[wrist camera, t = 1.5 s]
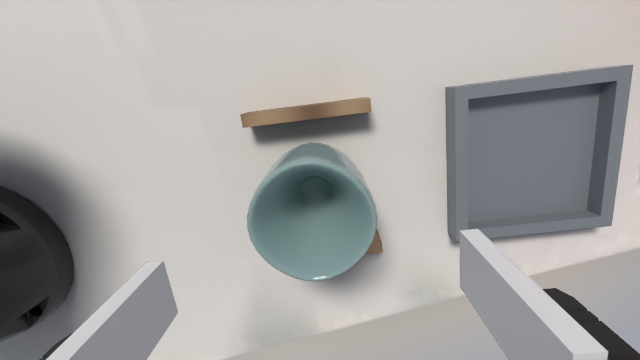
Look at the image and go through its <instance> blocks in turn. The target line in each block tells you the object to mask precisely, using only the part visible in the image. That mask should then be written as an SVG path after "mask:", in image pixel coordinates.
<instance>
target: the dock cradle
mask: <svg viewBox="0 0 640 360" xmlns="http://www.w3.org/2000/svg"><path fill="white" fill-rule="evenodd" d="M632 70H633V65H625V66H611V67H603V68H595V69H587V70H579V71H571V72H563V73H555V74H547V75H539V76H532V77H524V78H516V79H508V80H500V81H492V82H484V83H476V84H468V85H460V86H452V87H446V144H447V206H448V233H449V234H450V235H451V236H452V237H453V238H454V240H455V241H456V242H459V241H460V231H461V230H471V229H479V230H480V231H481V232H482V233H483V234H484V235H485V236H486V237H487V238H498V237H508V236H517V235H527V234H537V233H547V232H556V231H566V230H576V229H586V228H595V227H605V226H611V225H612V218H613V211H614V203H615V196H616V188H617V181H618V174H619V166H620V159H621V152H622V144H623V137H624V129H625V122H626V115H627V107H628V100H629V92H630V85H631V78H632Z"/></svg>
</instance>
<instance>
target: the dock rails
mask: <svg viewBox="0 0 640 360" xmlns="http://www.w3.org/2000/svg"><path fill="white" fill-rule="evenodd" d="M366 112H371V101H370V98H367V97H365V98H358V99H350V100H342V101H334V102H326V103H318V104H310V105H302V106H294V107H286V108H279V109H271V110H263V111H255V112H248V113H244V114H241V120H242V126H243V128H245V127H253V126H261V125H269V124H277V123H285V122H293V121H301V120H309V119H317V118H326V117H334V116H342V115H350V114H358V113H366ZM380 252H382V242H381V239H380V236H379V233H378V231H377V229H376V232H375V235H374V238H373V241H372V243H371V245H370V247H369V249H368V250H367V252H366V253H365V254H370V253H380ZM268 264H269V263H268Z"/></svg>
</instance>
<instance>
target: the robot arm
mask: <svg viewBox="0 0 640 360" xmlns="http://www.w3.org/2000/svg"><path fill="white" fill-rule="evenodd" d="M72 278H73V265H72V259H71V255H70V252H69V249H68V246H67V244H66V242H65V240H64V238H63V236H62V234H61V233H60V231H59V230H58V228H57V227H56V226H55V224H54V223H53V222H52V221H51V220H50V218H49V217H48V216H47V215H46V214H45V213H44V212H43V211H41V210H40V209H39V208H38V207H37V206H35V205H34V204H33V203H31V202H30V201H29V200H27V199H25V198H24V197H22V196H20V195H18V194H16V193H14V192H12V191H10V190H8V189H5V188H2V187H0V342H1V341H4V340H6V339H8V338H10V337H13V336H15V335H17V334H19V333H22V332H24V331H26V330H28V329H30V328H31V327H33V326H35V325H36V324H38V323H39V322H40V321H42V320H43V319H44V318H45V317H47V316H48V315H49V314H50V313H52V312H53V311H54V310H55V309H56V308H58V307H59V306H60V305H61V303H62V302H63V301H64V300H65V298H66V297H67V295H68V293H69V290H70V287H71V284H72ZM460 287H461V289H462V290H463V292H464V293H465V295H466V296H467V298H468V299H469V301H470V302H471V304H472V305H473V307H474V308H475V310H476V311H477V313H478V314H479V316H480V317H481V319H482V320H483V322H484V323H485V325H486V327H487V328H488V330H489V331H490V333H491V334H492V336H493V337H494V338H495V340H496V342H497V343H498V345H499V346H500V348H501V349H502V350H503V352H504V354H505V355H506V357H507V358H508V359H509V360H640V354H639V353H638V352H637V351H635V350H634V349H633V348H632V347H631V346H630V345H629V344H627V343H626V342H625V341H624V340H623V339H621V338H620V337H619V336H618V335H617V334H616V333H614V332H613V331H612V330H611V329H610V328H609V327H607V326H606V325H605V324H604V323H603V322H602V321H599V320H598V318H597V317H596V316H595V315H593V314H592V313H591V312H590V311H587V309H586V308H585V307H584V306H583V305H582V304H581V303H579V302H578V301H577V300H576V299H575V298H574V297H572V296H570V295H568V294H566V293H564V292H562V291H560V290H558V289H556V288H552V289H541V288H540V287H539V286H538V285H537V284H536V283H535V282H534V281H533V280H532V279H531V278H530V277H529V276H527V275H526V274H525V273H524V272H523V271H522V270H521V269H520V268H519V267H518V266H517V265H516V264H515V263H514V262H513V261H512V260H511V259H509V258H508V257H507V256H506V255H505V254H504V253H503V252H502V251H501V250H500V249H499V248H498V247H497V246H496V245H495V244H494V243H492V242H491V241H490V240H489V239H488V238H487V237H486V236H485V235H484V234H483V233H482V232H481V231H480V230H479V229H471V230H461V231H460ZM177 313H178V310H177V307H176V303H175V300H174V296H173V293H172V289H171V286H170V282H169V279H168V275H167V272H166V268H165V265H164V261H154V262H147V263H146V264H145V265H144V266H143V267H141V268H140V269H139V270H138V271H137V272H136V273H135V274H134V275H133V276H132V277H131V278H130V279H129V280H128V281H127V282H126V283H125V284H124V285H123V286H122V287H121V288H120V289H119V290H118V291H117V292H115V293H114V294H113V295H112V296H111V297H110V298H109V299H108V300H107V301H106V302H105V303H104V304H103V305H102V306H101V307H100V308H99V309H98V310H97V311H96V312H95V313H94V314H93V315H92V316H91V317H89V318H88V319H87V320H86V321H85V322H84V323H83V324H82V325H81V326H80V327H79V328H78V329H77V330H76V331H75V332H73V333H72V334H70V335H69V336H67V337H66V338H64V339H63V340H61V341H60V342H58V343H57V344H55V345H54V346H53V347H52V348H51V349H50V350H49V351H48V352H47V353H46V354H45V355H44V356H43V358H42V359H40V360H146V359H147V358H148V357H149V355H150V354H151V352H152V351H153V349H154V348H155V346H156V345H157V343H158V342H159V340H160V339H161V337H162V336H163V334H164V333H165V331H166V330H167V328H168V327H169V325H170V324H171V322H172V321H173V319H174V318H175V316H176V315H177Z"/></svg>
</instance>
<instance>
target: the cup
mask: <svg viewBox="0 0 640 360" xmlns="http://www.w3.org/2000/svg"><path fill="white" fill-rule="evenodd" d="M376 227H377V213H376V207H375V203H374V200H373V197H372V195H371V192H370V190H369V188H368V186H367V183H366V181H365V179H364V177H363V175H362V173H361V172H360V170H359V169H358V168H357V166H356V165H355V163H354V162H353V161H352V160H351V159H350V158H349V157H348V156H347V155H345V154H344V153H343V152H341V151H340V150H338V149H337V148H334V147H332V146H330V145H327V144H323V143H316V142H310V143H305V144H301V145H299V146H297V147H295V148H292V149H291V150H290V151H288V152H287V153H285V154H284V155H283V156H282V157H281V158H280V159H279V160H278V161H277V162H276V163H275V164H274V165H273V166H272V167H271V169H270V170H269V171H268V173H267V174H266V176H265V177H264V179H263V180H262V182H261V183H260V185H259V186H258V188H257V189H256V191H255V193H254V196H253V198H252V200H251V202H250V205H249V210H248V215H247V228H248V232H249V236H250V239H251V241H252V243H253V245H254V247H255V248H256V250H257V251H258V252H259V254H260V255H261V256H262V257H263V258H264V259H265V260H266V261H267V262H268V263H269V264H270V265H272V266H273V267H274V268H276V269H277V270H279V271H281V272H282V273H284V274H286V275H289V276H291V277H294V278H297V279H301V280H306V281H320V280H326V279H330V278H333V277H335V276H338V275H340V274H342V273H344V272H345V271H347V270H349V269H350V268H351V267H353V266H354V265H355V264H356V263H357V262H358V261H359V260H360V259H361V258H362V257H363V256H364V254H365V253H366V252H367V250H368V249H369V247H370V245H371V243H372V241H373V238H374V235H375V232H376Z"/></svg>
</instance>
